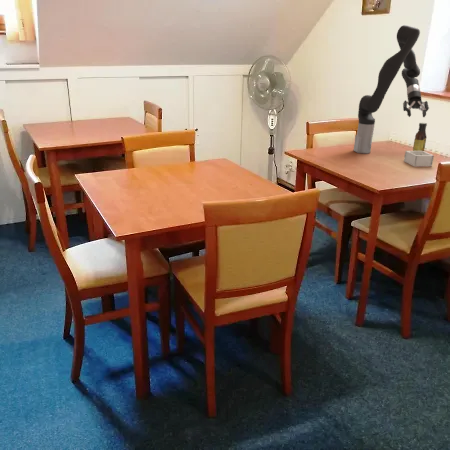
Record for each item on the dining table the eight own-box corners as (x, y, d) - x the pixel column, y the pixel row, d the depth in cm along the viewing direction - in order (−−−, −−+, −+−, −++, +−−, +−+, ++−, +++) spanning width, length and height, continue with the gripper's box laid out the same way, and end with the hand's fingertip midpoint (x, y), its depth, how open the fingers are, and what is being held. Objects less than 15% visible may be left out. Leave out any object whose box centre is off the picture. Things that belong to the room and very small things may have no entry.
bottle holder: (414, 166, 251) (416, 155, 249) (403, 161, 261) (405, 150, 259) (431, 166, 252) (433, 155, 250) (420, 160, 263) (422, 150, 260)
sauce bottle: (423, 158, 268) (430, 124, 260) (412, 158, 269) (418, 123, 261) (421, 156, 274) (428, 122, 266) (410, 155, 275) (416, 122, 267)
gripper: (404, 89, 276) (407, 112, 270) (428, 90, 276) (431, 112, 270) (400, 97, 283) (402, 119, 277) (423, 98, 283) (426, 120, 277)
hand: (417, 116), depth 273 cm, fingers open, 8 cm apart
